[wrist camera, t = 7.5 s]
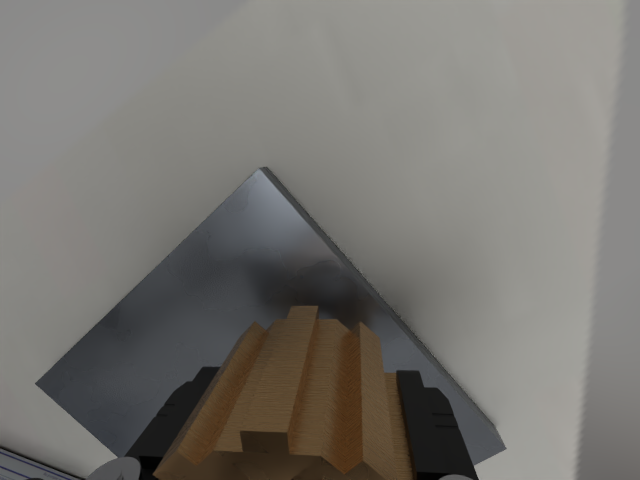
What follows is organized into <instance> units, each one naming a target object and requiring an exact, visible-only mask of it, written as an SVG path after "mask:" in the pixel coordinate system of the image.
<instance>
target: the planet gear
mask: <svg viewBox="0 0 640 480" xmlns="http://www.w3.org/2000/svg"><path fill="white" fill-rule="evenodd" d="M153 475H154V476H155V477H157V478H158V479H159V480H414V477H413V472H412V466H411V460H410V455H409V449H408V443H407V438H406V432H405V426H404V421H403V415H402V409H401V404H400V398H399V392H398V387H397V381H396V373H384V368H383V360H382V352H381V344H380V338H379V337H378V336H377V335H376V334H375V333H374V332H372V331H371V330H370V329H369V328H368V327H367V326H365V325H364V324H363V323H362V322H361V321H359V322H358V323H357V324H356V325H355V326H354V327H353V328H351V329H350V330H349V329H348V328H347V327H345V326H344V325H343V324H342V323H341V322H340V321H338V320H337V319H319V308H318V306H291V309H290V311H289V314H288V316H287V318H286V319H276V320H275V321H274V322H273V323H272V324H271V325H270V326H269V327H268V328H267V329H266V330H265V329H264V328H263V327H262V326H260V325H259V324H258V323H257V322H255V321H254V322H253V323H252V324H251V325H250V326H249V328H248V329H247V330H246V331H245V332H244V333H243V334H242V335H241V336H240V337H239V339H238V340H237V342H236V343H235V345H234V346H233V348H232V350H231V351H230V353H229V354H228V356H227V358H226V359H225V361H224V362H223V364H222V365H221V367H220V369H219V370H218V372H217V373H216V375H215V377H214V378H213V380H212V381H211V383H210V384H209V386H208V388H207V389H206V391H205V392H204V394H203V396H202V397H201V399H200V400H199V402H198V403H197V405H196V407H195V408H194V410H193V411H192V413H191V414H190V416H189V418H188V419H187V421H186V422H185V424H184V426H183V427H182V429H181V430H180V432H179V433H178V435H177V437H176V438H175V440H174V441H173V443H172V445H171V446H170V448H169V449H168V451H167V452H166V454H165V456H164V457H163V459H162V460H161V462H160V464H159V465H158V467H157V468H156V470H155V471H154V473H153Z"/></svg>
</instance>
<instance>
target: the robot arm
mask: <svg viewBox="0 0 640 480" xmlns="http://www.w3.org/2000/svg"><path fill="white" fill-rule="evenodd" d="M219 369H220V367H210V366H204V367H202V368H201V369H200V371H199V372H198V374H197V375H196V376H195V378H194V379H193V380H192V381H187V382H185V383H184V384H183V385H181V386H180V387H179V388H178V389H176V390H175V391H174V392H173V393H172V394H171V396H170V397H169V398H168V399H167V401H166V402H165V403H164V406H162V407H161V409H160V410H159V411H158V413H157V414H156V417H154V418H153V419H152V420H151V422H150V423H149V424H148V426H147V427H146V428H145V430H144V431H143V432H142V434H141V435H140V436H139V437H138V439H137V440H136V441H135V443H134V444H133V445H132V447H131V448H130V449H129V451H128V452H127V453H126V455H125V456H124V457H121V458H117V459H114V460H111V461H109V462H107V463H105V464H104V465H102V466H100V467H99V468H98V469H96V470H95V471H94V472H93V473H91V474H90V475H89V476H88V478H87V479H86V480H159V479H158V478H157V477H155V476H154V475H153V473H154V471H155V470H156V468H157V467H158V465H159V464H160V462H161V460H162V459H163V457H164V456H165V454H166V452H167V451H168V449H169V448H170V446H171V445H172V443H173V441H174V440H175V438H176V437H177V435H178V433H179V432H180V430H181V429H182V427H183V426H184V424H185V422H186V421H187V419H188V418H189V416H190V414H191V413H192V411H193V410H194V408H195V407H196V405H197V403H198V402H199V400H200V399H201V397H202V396H203V394H204V392H205V391H206V389H207V388H208V386H209V384H210V383H211V381H212V380H213V378H214V377H215V375H216V373H217V372H218V370H219ZM396 381H397V387H398V392H399V398H400V404H401V409H402V415H403V421H404V426H405V432H406V438H407V443H408V449H409V455H410V460H411V466H412V472H413V477H414V480H479V479H478V477H477V474H476V471H475V469H474V466H473V463H472V461H471V458H470V455H469V453H468V450H467V447H466V445H465V442H464V439H463V437H462V434H461V431H460V429H459V426H458V423H457V421H456V418H455V417H454V413H453V410H452V407H451V405H450V402H449V400H448V398H447V397H446V396H445V395H444V394H443V393H442V392H441V391H440V390H439V389H438V388H436V387H424V385H423V381H422V378H421V374H420V372H419V370H397V371H396ZM26 480H43V479H41V478H30V479H26Z"/></svg>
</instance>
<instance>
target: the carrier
mask: <svg viewBox="0 0 640 480" xmlns="http://www.w3.org/2000/svg"><path fill="white" fill-rule="evenodd" d="M291 306H318V308H319V319H337V320H338V321H340V322H341V323H342V324H343V325H344V326H345V327H347V328H348V329H349V330H350V329H351V328H353V327H354V326H355V325H356V324H357V323H358V322H359V321H361V322H362V323H363V324H364V325H365V326H367V327H368V328H369V329H370V330H371V331H372V332H374V333H375V334H376V335H377V336H378V337H379V338H380V344H381V352H382V360H383V368H384V373H396V371H397V370H419V372H420V374H421V378H422V381H423V385H424V387H436V388H438V389H439V390H440V391H441V392H442V393H443V394H444V395H445V396H446V397H447V398H448V400H449V402H450V405H451V407H452V410H453V413H454V417H455V418H456V421H457V423H458V426H459V429H460V431H461V434H462V437H463V439H464V442H465V445H466V447H467V450H468V453H469V455H470V458H471V461H472V463H473V466H474V465H476V464H478V463H480V462H482V461H484V460H486V459H488V458H490V457H492V456H494V455H496V454H498V453H499V452H501V451H503V450H505V449H506V447H505V445H504V443H503V441H502V439H501V437H500V435H499V433H498V431H497V429H496V427H495V426H494V425H493V424H492V423H491V422H490V421H489V419H488V418H487V417H486V416H485V415H484V414H483V413H482V411H481V410H480V409H479V408H478V407H477V406H476V405H475V403H474V402H473V401H472V400H471V399H470V398H469V397H468V396H467V394H466V393H465V392H464V391H463V390H462V389H461V388H460V386H459V385H458V384H457V383H456V382H455V381H454V380H453V378H452V377H451V376H450V375H449V374H448V373H447V372H446V370H445V369H444V368H443V367H442V366H441V365H440V364H439V362H438V361H437V360H436V359H435V358H434V357H433V356H432V355H431V353H430V352H429V351H428V350H427V349H426V348H425V347H424V345H423V344H422V343H421V342H420V341H419V340H418V339H417V337H416V336H415V335H414V334H413V333H412V332H411V331H410V329H409V328H408V327H407V326H406V325H405V324H404V323H403V322H402V320H401V319H400V318H399V317H398V316H397V315H396V314H395V312H394V311H393V310H392V309H391V308H390V307H389V306H388V304H387V303H386V302H385V301H384V300H383V299H382V298H381V296H380V295H379V294H378V293H377V292H376V291H375V290H374V288H373V287H372V286H371V285H370V284H369V283H368V282H367V281H366V279H365V278H364V277H363V276H362V275H361V274H360V273H359V271H358V270H357V269H356V268H355V267H354V266H353V265H352V263H351V262H350V261H349V260H348V259H347V258H346V257H345V255H344V254H343V253H342V252H341V251H340V250H339V249H338V248H337V246H336V245H335V244H334V243H333V242H332V241H331V240H330V238H329V237H328V236H327V235H326V234H325V233H324V232H323V230H322V229H321V228H320V227H319V226H318V225H317V224H316V222H315V221H314V220H313V219H312V218H311V217H310V216H309V214H308V213H307V212H306V211H305V210H304V209H303V208H302V207H301V205H300V204H299V203H298V202H297V201H296V200H295V199H294V197H293V196H292V195H291V194H290V193H289V192H288V191H287V189H286V188H285V187H284V186H283V185H282V184H281V183H280V181H279V180H278V179H277V178H276V177H275V176H274V175H273V174H272V172H271V171H270V170H269V169H268V168H267V167H264V168H259V169H258V170H256V171H255V172H254V173H253V174H252V175H251V176H250V177H249V178H248V179H247V180H246V181H245V182H244V183H243V184H242V185H241V186H240V187H239V188H238V189H237V190H236V191H235V192H234V193H233V194H232V195H231V196H229V197H228V198H227V199H226V200H225V201H224V202H223V203H222V204H221V205H220V206H219V207H218V208H217V209H216V210H215V211H214V212H213V213H212V214H211V215H210V216H209V217H208V218H207V219H206V220H205V221H203V222H202V223H201V224H200V225H199V226H198V227H197V228H196V229H195V230H194V231H193V232H192V233H191V234H190V235H189V236H188V237H187V238H186V239H185V240H184V241H183V242H182V243H181V244H180V245H179V246H178V247H176V248H175V249H174V250H173V251H172V252H171V253H170V254H169V255H168V256H167V257H166V258H165V259H164V260H163V261H162V262H161V263H160V264H159V265H158V266H157V267H156V268H155V269H154V270H153V271H152V272H151V273H149V274H148V275H147V276H146V277H145V278H144V279H143V280H142V281H141V282H140V283H139V284H138V285H137V286H136V287H135V288H134V289H133V290H132V291H131V292H130V293H129V294H128V295H127V296H126V297H125V298H124V299H122V300H121V301H120V302H119V303H118V304H117V305H116V306H115V307H114V308H113V309H112V310H111V311H110V312H109V313H108V314H107V315H106V316H105V317H104V318H103V319H102V320H101V321H100V322H99V323H98V324H97V325H95V326H94V327H93V328H92V329H91V330H90V331H89V332H88V333H87V334H86V335H85V336H84V337H83V338H82V339H81V340H80V341H79V342H78V343H77V344H76V345H75V346H74V347H73V348H72V349H71V350H70V351H68V352H67V353H66V354H65V355H64V356H63V357H62V358H61V359H60V360H59V361H58V362H57V363H56V364H55V365H54V366H53V367H52V368H51V369H50V370H49V371H48V372H47V373H46V374H45V375H44V376H43V377H41V378H40V379H39V380H38V381H37V382H36V383H35V384H36V385H37V386H38V387H39V388H40V389H42V390H43V391H44V392H45V393H46V394H47V395H48V396H49V397H51V398H52V399H53V400H54V401H55V402H56V403H57V404H58V405H60V406H61V407H62V408H63V409H64V410H65V411H66V412H68V413H69V414H70V415H71V416H72V417H73V418H74V419H75V420H77V421H78V422H79V423H80V424H81V425H82V426H83V427H84V428H86V429H87V430H88V431H89V432H90V433H91V434H92V435H93V436H95V437H96V438H97V439H98V440H99V441H100V442H101V443H103V444H104V445H105V446H106V447H107V448H108V449H109V450H110V451H112V452H113V453H114V454H115V455H116V456H117V457H118V458H121V457H124V456H125V455H126V453H127V452H128V451H129V449H130V448H131V447H132V445H133V444H134V443H135V441H136V440H137V439H138V437H139V436H140V435H141V434H142V432H143V431H144V430H145V428H146V427H147V426H148V424H149V423H150V422H151V420H152V419H153V418H154V417H156V414H157V413H158V411H159V410H160V409H161V407H162V406H164V403H165V402H166V401H167V399H168V398H169V397H170V396H171V394H172V393H173V392H174V391H175V390H176V389H178V388H179V387H180V386H181V385H183V384H184V383H185V382H187V381H192V380H193V379H194V378H195V376H196V375H197V374H198V372H199V371H200V369H201V368H202V367H204V366H210V367H221V365H222V364H223V362H224V361H225V359H226V358H227V356H228V354H229V353H230V351H231V350H232V348H233V346H234V345H235V343H236V342H237V340H238V339H239V337H240V336H241V335H242V334H243V333H244V332H245V331H246V330H247V329H248V328H249V326H250V325H251V324H252V323H253V322H254V321H255V322H257V323H258V324H259V325H260V326H262V327H263V328H264V329H265V330H266V329H267V328H268V327H269V326H270V325H271V324H272V323H273V322H274V321H275V320H276V319H286V318H287V316H288V314H289V311H290V309H291Z"/></svg>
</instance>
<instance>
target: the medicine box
mask: <svg viewBox="0 0 640 480" xmlns="http://www.w3.org/2000/svg"><path fill="white" fill-rule="evenodd" d="M30 478H41V479H43V480H80V479H78V478H75V477H72V476H70V475H67V474H64V473H62V472H59V471H57V470H54V469H52V468H49V467H47V466H44V465H41V464H39V463H36V462H34V461H31V460H29V459H26V458H23V457H21V456H18V455H16V454H13V453H11V452H8V451H6V450H3V449H0V480H26V479H30Z"/></svg>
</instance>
